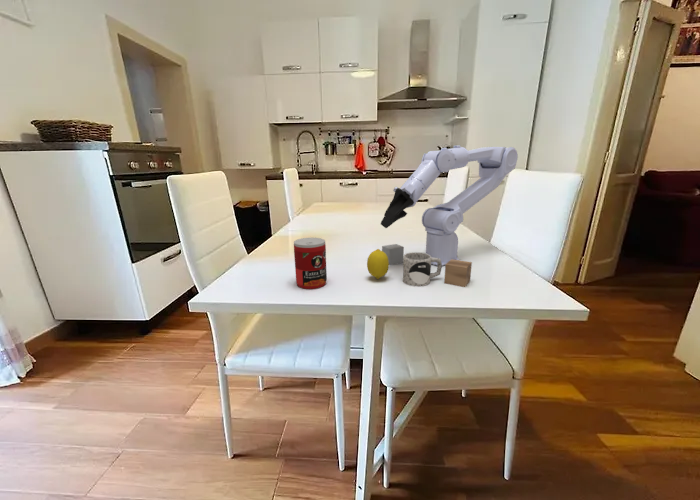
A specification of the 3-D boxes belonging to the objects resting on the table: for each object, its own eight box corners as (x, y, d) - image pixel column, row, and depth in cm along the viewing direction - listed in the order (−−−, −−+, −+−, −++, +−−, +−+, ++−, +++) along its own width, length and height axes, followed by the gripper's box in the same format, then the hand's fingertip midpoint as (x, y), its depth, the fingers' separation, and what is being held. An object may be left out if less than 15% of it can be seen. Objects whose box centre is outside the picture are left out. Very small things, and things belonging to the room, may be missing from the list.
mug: (409, 287, 75) (410, 261, 74) (399, 278, 82) (399, 253, 80) (447, 283, 77) (449, 257, 76) (434, 274, 84) (435, 250, 82)
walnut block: (450, 277, 82) (451, 259, 80) (470, 281, 79) (471, 262, 78) (444, 283, 78) (445, 264, 76) (465, 287, 75) (466, 267, 74)
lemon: (392, 277, 82) (392, 248, 80) (382, 284, 77) (382, 253, 75) (373, 273, 85) (374, 245, 83) (363, 280, 80) (362, 250, 78)
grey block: (395, 259, 98) (396, 243, 96) (403, 262, 94) (403, 246, 93) (381, 261, 96) (382, 246, 94) (389, 265, 92) (389, 249, 91)
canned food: (304, 292, 74) (301, 246, 71) (291, 281, 80) (288, 240, 77) (332, 285, 78) (331, 242, 75) (318, 276, 84) (316, 235, 81)
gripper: (400, 186, 92) (370, 220, 90) (410, 163, 78) (376, 202, 76) (419, 201, 91) (390, 235, 89) (433, 180, 77) (399, 221, 75)
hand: (385, 221), depth 82 cm, fingers open, 7 cm apart
